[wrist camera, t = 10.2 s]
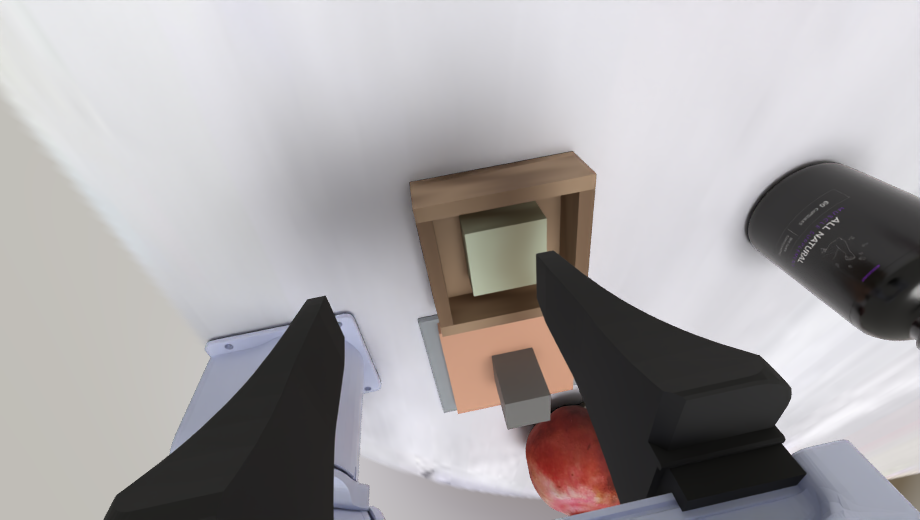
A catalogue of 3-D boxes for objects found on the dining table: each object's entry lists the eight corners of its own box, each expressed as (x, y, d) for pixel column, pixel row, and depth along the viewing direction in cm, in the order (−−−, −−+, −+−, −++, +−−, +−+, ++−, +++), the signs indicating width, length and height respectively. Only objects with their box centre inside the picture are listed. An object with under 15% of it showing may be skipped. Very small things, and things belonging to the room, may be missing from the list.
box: (437, 303, 26) (442, 337, 24) (409, 182, 21) (412, 209, 19) (567, 277, 27) (585, 307, 24) (572, 151, 21) (596, 173, 19)
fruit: (619, 382, 35) (687, 502, 27) (593, 439, 41) (644, 552, 33) (521, 393, 34) (562, 522, 26) (508, 450, 40) (539, 571, 32)
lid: (456, 403, 33) (466, 463, 29) (437, 323, 27) (446, 384, 23) (568, 379, 33) (593, 435, 29) (573, 295, 27) (605, 351, 23)
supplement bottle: (744, 188, 25) (972, 326, 15) (856, 140, 24) (1174, 254, 14) (740, 264, 29) (918, 411, 19) (836, 226, 28) (1073, 359, 18)
